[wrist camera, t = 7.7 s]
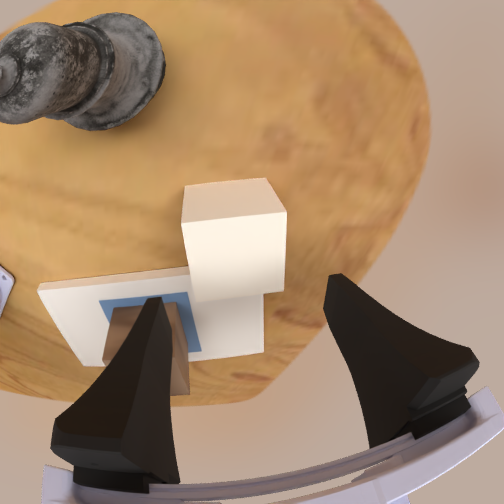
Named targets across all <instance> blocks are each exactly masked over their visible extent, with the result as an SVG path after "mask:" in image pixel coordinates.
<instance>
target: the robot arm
mask: <svg viewBox="0 0 504 504" xmlns="http://www.w3.org/2000/svg"><path fill="white" fill-rule="evenodd" d="M13 284H14V278H13V276H12V275H10V274H9V273H8V272H7V271H6V270H4V269H3V268H2V267H1V266H0V317H1V314H2V311H3V309H4V306H5V303H6V301H7V298H8V296H9V293H10V291H11V289H12V286H13ZM323 309H324V313H325V316H326V319H327V322H328V325H329V328H330V330H331V332H332V334H333V336H334V338H335V340H336V342H337V345H338V347H339V349H340V351H341V353H342V355H343V357H344V359H345V361H346V363H347V365H348V368H349V370H350V372H351V375H352V378H353V381H354V384H355V387H356V391H357V394H358V397H359V401H360V405H361V408H362V412H363V416H364V421H365V425H366V430H367V435H368V441H369V447H370V449H369V450H366V451H363V452H360V453H357V454H354V455H351V456H348V457H345V458H342V459H338V460H335V461H332V462H329V463H325V464H321V465H317V466H313V467H309V468H306V469H302V470H297V471H293V472H287V473H282V474H278V475H272V476H267V477H260V478H254V479H246V480H238V481H228V482H219V483H218V482H217V483H203V484H179V483H180V477H179V472H178V467H177V461H176V455H175V448H174V441H173V433H172V423H171V410H170V385H171V369H172V354H173V342H172V328H171V325H170V322H169V319H168V316H167V312H166V309H165V306H164V303H163V300H162V297H153V298H147V300H146V301H145V303H144V305H143V307H142V309H141V311H140V313H139V315H138V317H137V319H136V321H135V323H134V324H133V326H132V328H131V330H130V331H129V333H128V335H127V337H126V338H125V340H124V342H123V343H122V345H121V346H120V348H119V350H118V351H117V353H116V354H115V356H114V357H113V359H112V360H111V362H110V363H109V364H108V366H107V367H106V368H105V370H104V371H103V372H102V373H101V375H100V376H99V377H98V378H97V380H96V381H95V382H94V383H93V384H92V385H91V386H90V388H89V389H88V390H87V391H86V392H85V393H84V394H83V395H82V396H81V397H80V398H79V399H78V400H77V401H76V402H75V403H74V404H72V405H71V406H70V407H69V408H68V409H67V410H65V411H64V412H63V413H62V414H61V415H59V416H58V417H57V418H55V422H54V426H53V432H52V439H51V447H50V449H51V450H52V451H53V452H54V453H55V454H56V455H57V456H59V457H60V458H62V459H64V460H65V461H67V462H69V463H70V464H72V465H74V471H70V470H66V469H63V468H58V467H53V466H49V465H44V470H43V482H42V499H41V504H221V503H220V502H184V501H212V500H225V499H236V498H244V497H252V496H259V495H265V494H271V493H276V492H282V491H287V490H292V489H296V488H301V487H305V486H309V485H313V484H317V483H321V482H324V481H328V480H331V479H334V478H338V477H341V476H344V475H347V474H350V473H353V472H356V471H359V470H362V469H365V468H367V467H370V466H373V465H375V464H378V463H380V462H382V463H380V464H378V465H376V466H373V467H371V468H369V469H367V470H365V471H364V473H363V474H361V475H360V476H358V477H356V478H355V479H353V480H352V481H351V482H352V483H349V484H345V485H342V486H339V487H335V488H332V489H328V490H325V491H321V492H317V493H313V494H309V495H305V496H301V497H297V498H293V499H289V500H284V501H279V502H274V503H269V504H410V501H409V499H408V496H407V494H409V493H411V492H413V491H414V490H416V489H418V488H420V487H422V486H424V485H425V484H427V483H429V482H431V481H432V480H434V479H435V478H437V477H439V476H441V475H442V474H444V473H445V472H447V471H449V470H450V469H452V468H453V467H455V466H456V465H458V464H459V463H460V462H462V461H463V460H465V459H466V458H468V457H469V456H470V455H472V454H473V453H474V452H476V451H477V450H478V449H480V448H481V447H482V446H484V445H485V444H486V443H487V442H489V441H490V440H491V439H492V438H494V437H495V436H496V435H497V434H498V433H500V432H501V431H502V430H503V429H504V414H503V412H502V410H501V408H500V406H499V405H498V403H497V402H496V400H495V398H494V396H493V394H492V393H491V391H490V389H489V388H488V386H485V387H484V388H482V389H481V390H479V391H477V392H476V393H474V394H473V395H471V396H470V397H469V398H468V399H467V398H466V396H465V394H466V393H467V389H466V388H465V386H464V385H465V384H466V383H467V382H468V381H469V380H470V378H471V377H472V376H473V375H474V374H475V372H476V371H477V369H478V367H479V361H478V359H477V358H476V356H475V355H474V353H473V352H472V350H471V349H470V348H468V347H465V346H461V345H458V344H455V343H452V342H449V341H446V340H444V339H441V338H439V337H436V336H434V335H432V334H429V333H427V332H425V331H423V330H421V329H419V328H417V327H415V326H414V325H412V324H410V323H408V322H407V321H405V320H403V319H402V318H400V317H398V316H397V315H395V314H394V313H392V312H391V311H389V310H388V309H386V308H385V307H384V306H382V305H381V304H380V303H378V302H377V301H376V300H374V299H373V298H372V297H371V296H369V295H368V294H367V293H365V292H364V291H363V290H362V289H360V288H359V287H358V286H357V285H356V284H354V283H353V282H352V281H351V280H349V279H348V278H347V277H346V276H344V275H343V274H342V273H340V274H334V275H329V278H328V284H327V290H326V296H325V301H324V307H323ZM385 460H386V461H385ZM383 461H384V462H383Z"/></svg>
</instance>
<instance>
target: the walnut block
mask: <svg viewBox="0 0 504 504" xmlns="http://www.w3.org/2000/svg"><path fill="white" fill-rule="evenodd" d="M164 306H165V309H166V312H167V316H168V319H169V322H170V325H171V328H172V342H173V354H172V369H171V385H170V396H176V395H190V386H189V361H188V342H187V339H186V336H185V332H184V329H183V325H182V322H181V318H180V314H179V311H178V307H177V303H176V302H169V303H164ZM142 307H143V305H138V306H126V307H114V308H113V312H112V316H111V320H110V324H109V329H108V333H107V338H106V342H105V347H104V352H103V357H102V361H103V363H104V364H105V366H106V367H107V366H108V364H109V363H110V362H111V360H112V359H113V357H114V356H115V354H116V353H117V351H118V350H119V348H120V346H121V345H122V343H123V342H124V340H125V338H126V337H127V335H128V333H129V331H130V330H131V328H132V326H133V324H134V323H135V321H136V319H137V317H138V315H139V313H140V311H141V309H142Z"/></svg>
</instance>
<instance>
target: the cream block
mask: <svg viewBox="0 0 504 504" xmlns="http://www.w3.org/2000/svg"><path fill="white" fill-rule="evenodd" d="M286 223H287V211H286V210H285V208H284V206H283V205H282V203H281V202H280V200H279V198H278V197H277V195H276V193H275V192H274V190H273V189H272V187H271V185H270V184H269V182H268V181H267V179H266V178H255V179H243V180H233V181H222V182H213V183H204V184H196V185H187V186H185V190H184V199H183V209H182V219H181V226H182V232H183V238H184V243H185V249H186V254H187V260H188V265H189V270H190V275H191V280H192V285H193V290H194V295H195V299H196V302H203V301H212V300H220V299H228V298H236V297H244V296H251V295H259V294H266V293H273V292H280V291H284V274H285V251H286Z"/></svg>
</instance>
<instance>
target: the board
mask: <svg viewBox="0 0 504 504" xmlns="http://www.w3.org/2000/svg"><path fill="white" fill-rule="evenodd" d="M37 292H38V294H39V296H40V298H41V300H42V302H43V303H44V305H45V307H46V309H47V311H48V312H49V314H50V316H51V317H52V319H53V321H54V322H55V324H56V326H57V327H58V329H59V330H60V332H61V334H62V335H63V337H64V338H65V340H66V341H67V343H68V344H69V346H70V347H71V349H72V350H73V352H74V353H75V355H76V356H77V357H78V359H79V360H80V362H81V363H82V364H83V366H105V364H104V363H103V361H102V357H103V352H104V347H105V342H106V338H107V333H108V329H109V324H110V320H111V316H112V312H113V308H114V307H126V306H138V305H144V303H145V301H146V300H147V298H153V297H162V300H163V303H169V302H176V303H177V307H178V311H179V314H180V318H181V322H182V325H183V329H184V332H185V336H186V339H187V342H188V361H189V362H190V361H200V360H210V359H218V358H226V357H234V356H242V355H249V354H255V353H262V352H264V305H263V294H259V295H251V296H244V297H236V298H228V299H220V300H212V301H203V302H196V299H195V295H194V290H193V285H192V280H191V275H190V270H189V266H185V267H176V268H168V269H159V270H151V271H142V272H133V273H125V274H116V275H107V276H98V277H89V278H80V279H71V280H62V281H53V282H44V283H40V285H39V287H38V289H37Z"/></svg>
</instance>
